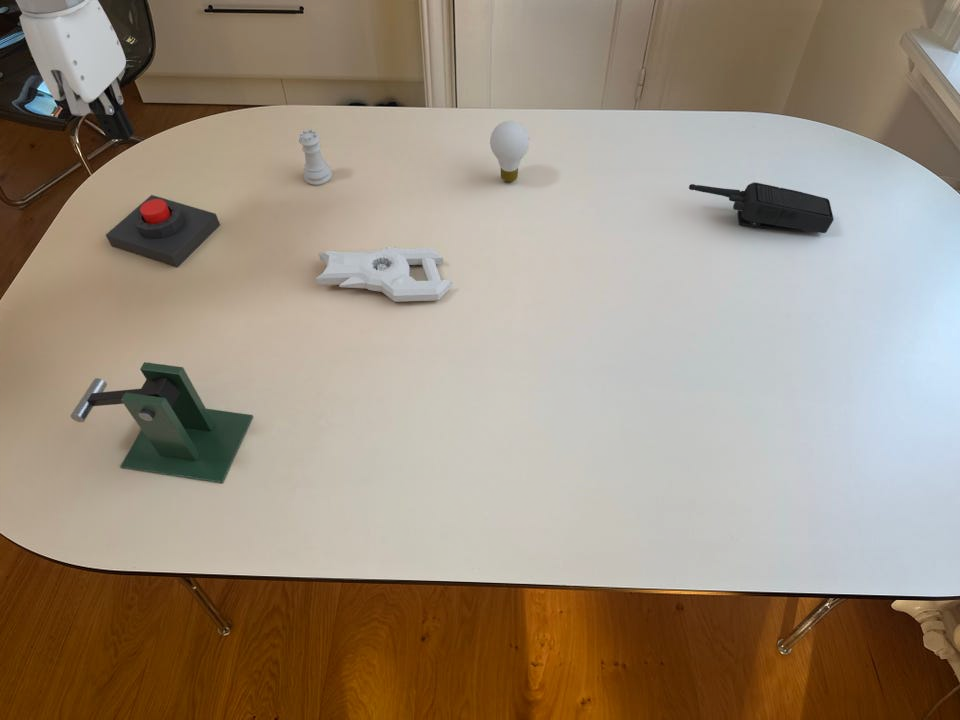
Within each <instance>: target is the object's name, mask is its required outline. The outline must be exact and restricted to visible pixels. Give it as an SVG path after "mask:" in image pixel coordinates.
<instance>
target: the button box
mask: <svg viewBox="0 0 960 720" xmlns="http://www.w3.org/2000/svg"><path fill="white" fill-rule="evenodd" d="M153 199H161V200H163V201H165V202H166V204H167V206H168V209H169V211H170V217H169V218H168V219H167V220H165V221H163V222H160V223H157V224H148V223H147V222H146V221H145V220H144V218H143V216H142V214H141V212H140V208H141V206H142V205H143V204H144V203H145V202H147V201H149V200H153ZM220 226H221V223H220V220H219V218H218V215H217V213H215V212H211V211H208V210H205V209H201V208H198V207H195V206H191V205H188V204H184V203H180V202H177V201H174V200H172V199H171V200H170V199H167V198H163V197H160V196H156V195H153V194H150V196H149V197H147V198H146V199H145V200H143V202H142V203H140V204H139V205H138V206H137V207H136V208H135V209H134V210H132V211H131V212H130V213H128V214H127V216H125V217H124V218H123V219H122V220H121V221H119V223H117V224H116V225H115V226H114V227H113V228H112V229H110V231H108V232H107V233H106V234H105V237H106V239H107V240H108V242H109V244H110V246H111V247H112V248H115V249H119V250H121V251H125V252H128V253H131V254H133V255H137V256H140V257H142V258H147V259H150V260H153V261H154V262H155V261H156V262H159V263H162V264H164V265H168V266H170V267H174V268H179V267H180V266H181V265H182V264H183V263H184V262H185V261H186V260H187V259H188V258H190V256H191V255H192V254H193V253H194V252H195V251H196V250H197V249H198V248H199V247H200V246H201V245H202V244H203V243H204V242H205V241H206V240H208V238H209V237H210V236H211V235H212V234H213V233H214V232H215V231H216V230H217V229H218V228H219V227H220Z"/></svg>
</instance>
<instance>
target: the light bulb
mask: <svg viewBox="0 0 960 720" xmlns="http://www.w3.org/2000/svg"><path fill="white" fill-rule="evenodd" d="M489 145H490V149H491V152H492V154H493V156H495V157H496V159H497V161H498V164H499V167H500V178H501V179H502V180H503V181H504V182H507V183H512V182H514V181H516V180H517V179H518V176H519V167H520V165H521V162H522V159H523V158H524V156H526V154H527V153H528V151H529V147H530V135H529V133H528V130H527V129H526V128H525V126H524V125H522V123H519V121H514V120H506V121H503V122H500V123H499V124H497V125H496V126H495V127H494V129H493V131H492V132H491V135H490V139H489Z"/></svg>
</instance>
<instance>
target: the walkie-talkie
mask: <svg viewBox="0 0 960 720" xmlns="http://www.w3.org/2000/svg"><path fill="white" fill-rule="evenodd" d="M688 189H689V190H690V191H696V192H701V193H706V194H712V195H716V196H722V197H725V198H728V201H730V202H732V203H733V202H734V203H733V206H732V209H733V210H734V211H737V223H738V225H740V226H743V227H744V226H745V227H750V228H755V229H756V228H757V229H765V230H766V229H767V230H778V231H788V232H790V231H791V232H799V233H802V232H804V231H806V232H813V233H819V234H826V233H827V232H828V231H829V229H830V227H831V225H832V224H833V222H834V220H835V219H834V215H833V210H832V207H831V201H830V199H828V198H827V197H823V196H819V195H816V194H815V195H814V194H810V193H806V192H802V191H800V190H794V189H789V188H785V187H779V186H775V185H770V184H766V183H760V182H751V183H749V184H747V186H746V187H745V189H744V190H740V189H735V188H733V189H732V188H723V187H715V186H707V185H702V184H701V185H700V184H694V183H690V184H689V186H688Z"/></svg>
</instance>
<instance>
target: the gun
mask: <svg viewBox="0 0 960 720" xmlns="http://www.w3.org/2000/svg"><path fill="white" fill-rule="evenodd" d="M318 259H319V260H320V261H321V262H322V263H324V264H325V265H326V268H325V270H324V271H323V272H322V273H321V274H320V275H318V276H316V277H315V282H316V285H319V286H320V285H321V286H339V288H348V289H349V288H350V289H366V290H369V291H373V292H374V291H375V292H379V293H380V292H381V293H383V294H384V295H385V296H386V297H388V298H389V299H390V300H391V301H393V302H398V303H399V302H432V301H439V300H440V299H441V298H442V297H444V295H445V294H446V293H447V292H448V291H449V290H451V288H453V280H449V279H448V280H447V279H441V276H440V273H439V270H438V267H437V265H443V264H444V258H443V256H442V255H440V254H439V252H438V251H437V250H435V248H433V247H418V248H417V247H416V248H414V247H413V248H398V247H392V246H385V248H380V249H376V250H372V251H371V250H370V251H336V250H326V251H325V252H318ZM421 265H422V269H423V272H424V274H425V277H426V279H427V280H416V279H415V278H414V277H412V276H411V275H410V272H411V271H410V268H411V267H410V266H421Z"/></svg>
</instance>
